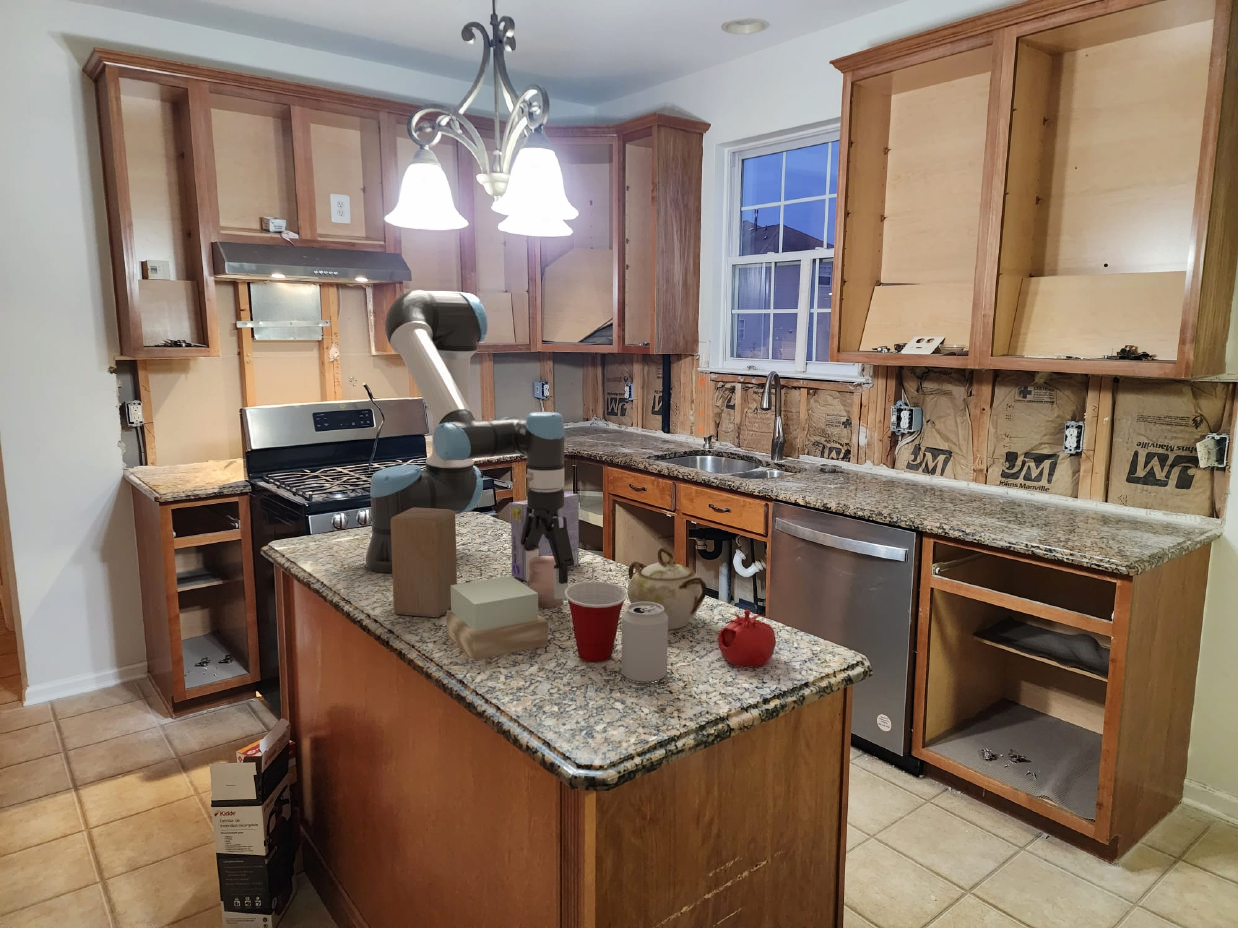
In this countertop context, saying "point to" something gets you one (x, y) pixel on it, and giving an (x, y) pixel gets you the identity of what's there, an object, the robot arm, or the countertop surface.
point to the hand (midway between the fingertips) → (546, 588)
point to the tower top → (494, 603)
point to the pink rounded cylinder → (543, 580)
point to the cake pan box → (517, 525)
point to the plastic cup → (595, 617)
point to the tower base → (497, 637)
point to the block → (423, 561)
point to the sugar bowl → (667, 588)
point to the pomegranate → (747, 641)
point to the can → (644, 642)
